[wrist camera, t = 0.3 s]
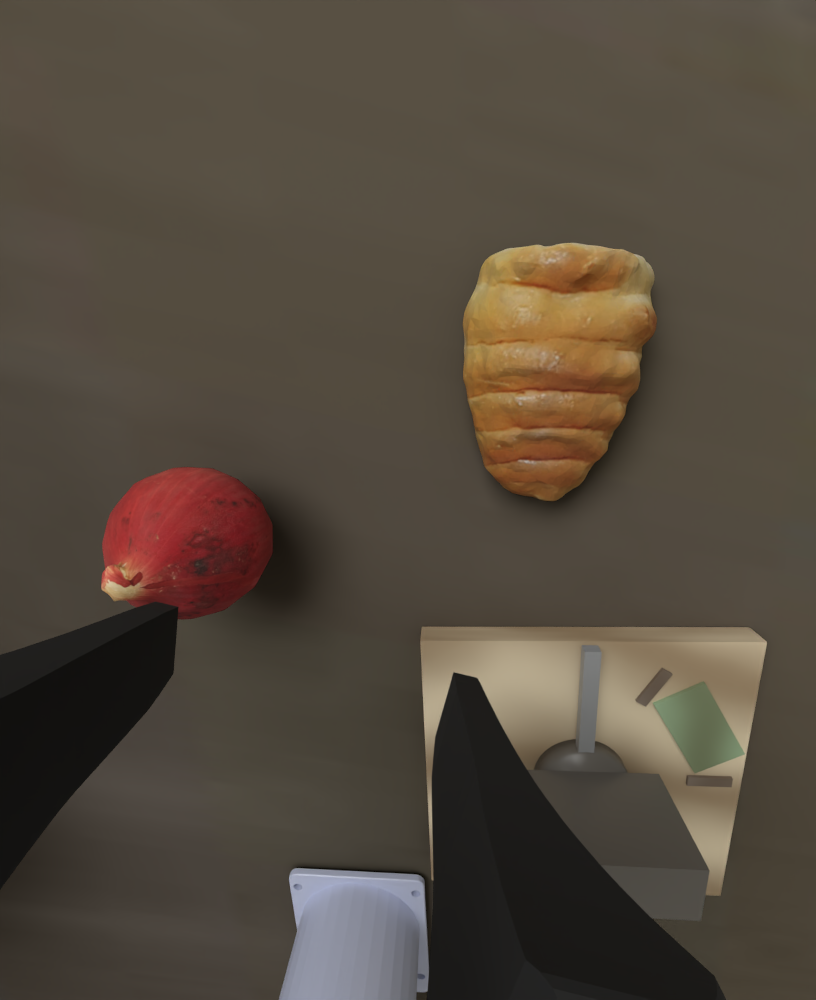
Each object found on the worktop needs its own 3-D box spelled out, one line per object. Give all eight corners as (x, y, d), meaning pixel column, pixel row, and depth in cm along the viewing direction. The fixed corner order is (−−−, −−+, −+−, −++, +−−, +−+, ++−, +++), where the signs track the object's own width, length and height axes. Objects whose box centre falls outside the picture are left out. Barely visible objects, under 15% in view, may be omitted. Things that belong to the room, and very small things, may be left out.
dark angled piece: (642, 813, 23) (698, 937, 18) (512, 808, 23) (529, 927, 18) (662, 641, 20) (733, 731, 15) (515, 641, 21) (536, 726, 16)
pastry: (604, 495, 20) (638, 523, 16) (450, 484, 21) (450, 509, 17) (645, 258, 17) (697, 228, 14) (468, 253, 18) (472, 223, 14)
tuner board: (707, 871, 25) (721, 899, 24) (432, 857, 26) (431, 883, 25) (749, 627, 21) (769, 644, 20) (421, 626, 22) (420, 642, 21)
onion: (295, 456, 20) (204, 507, 13) (298, 573, 22) (218, 682, 14) (171, 448, 21) (9, 493, 13) (182, 564, 22) (44, 665, 15)
